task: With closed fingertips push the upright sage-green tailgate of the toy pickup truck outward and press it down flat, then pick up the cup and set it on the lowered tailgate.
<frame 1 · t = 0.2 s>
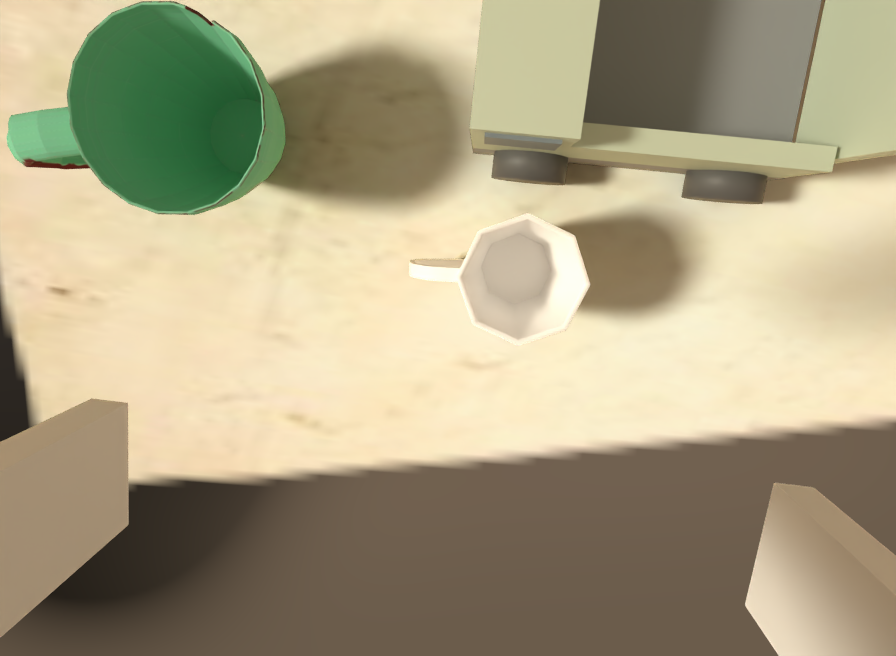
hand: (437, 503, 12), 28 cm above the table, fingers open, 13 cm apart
cup: (491, 265, 39), on the table
pickup truck: (672, 15, 35), on the table
mug: (213, 143, 38), on the table
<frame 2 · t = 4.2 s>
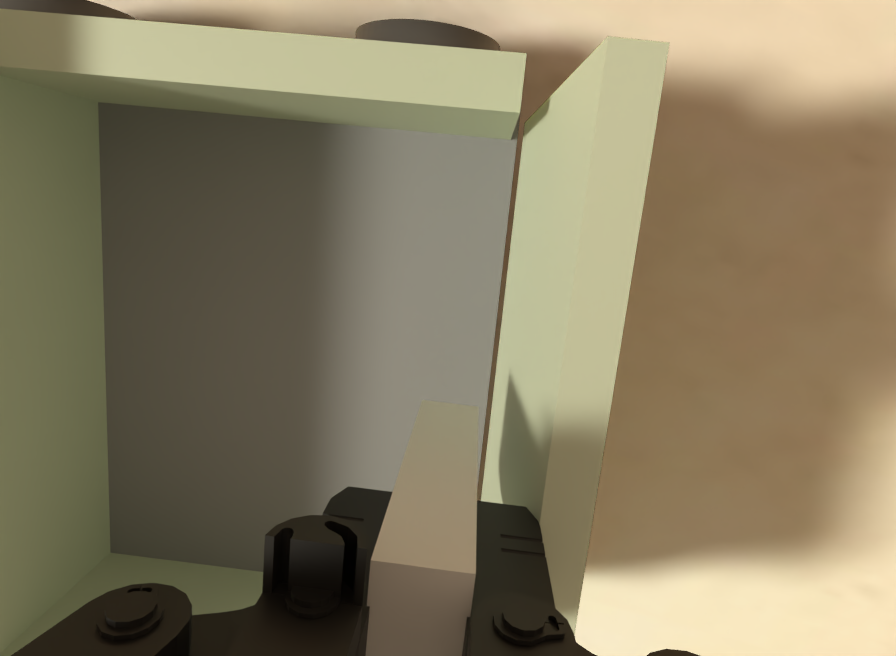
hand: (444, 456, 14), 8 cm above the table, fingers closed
tailgate: (533, 448, 15), point 8 cm above the table, hinge at 4.0°, touching gripper
pickup truck: (306, 344, 22), on the table
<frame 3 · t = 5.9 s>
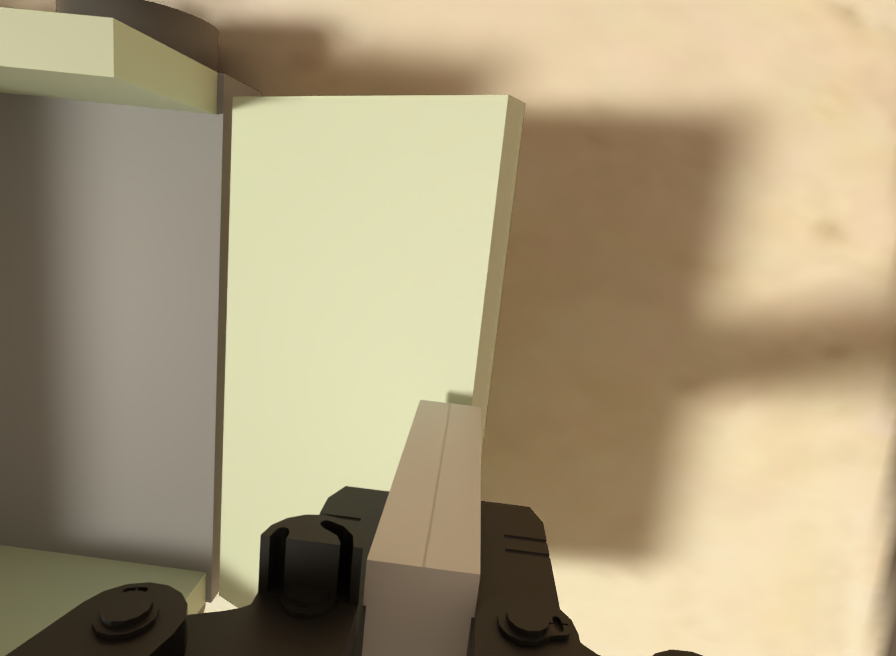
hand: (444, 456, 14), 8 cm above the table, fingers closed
tailgate: (344, 399, 17), point 5 cm above the table, hinge at 61.8°, touching gripper
pickup truck: (74, 321, 22), on the table
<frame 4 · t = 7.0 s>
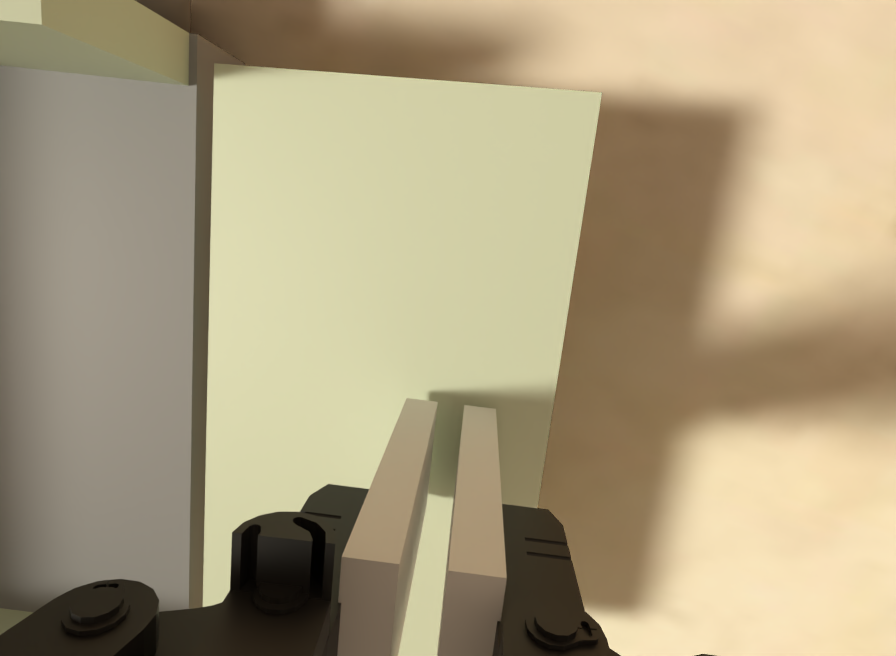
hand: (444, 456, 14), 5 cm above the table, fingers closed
tailgate: (375, 416, 15), point 4 cm above the table, hinge at 80.9°, touching gripper
pickup truck: (24, 334, 19), on the table
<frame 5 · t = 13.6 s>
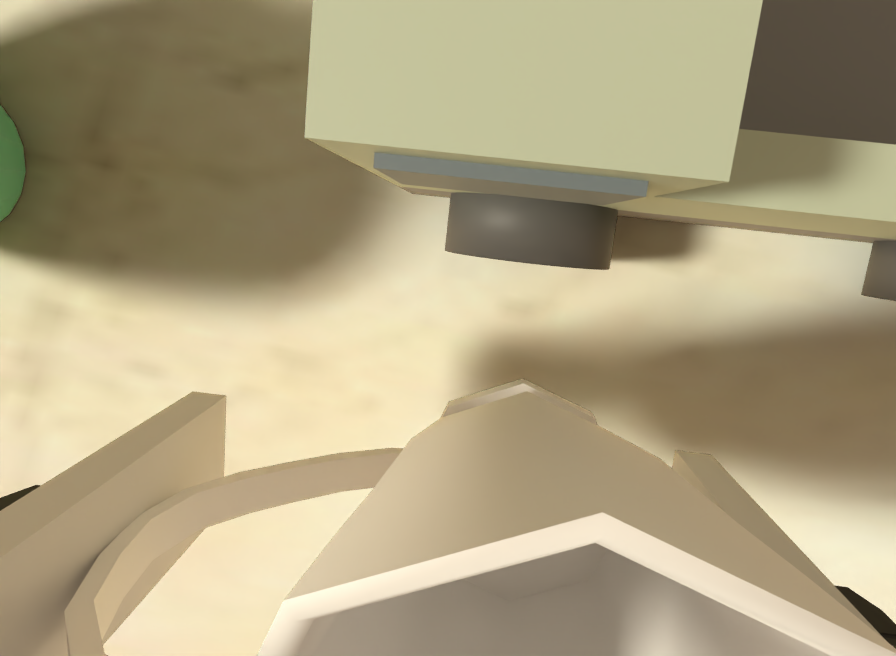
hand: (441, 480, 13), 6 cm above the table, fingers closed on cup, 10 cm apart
cup: (448, 463, 13), point 6 cm above the table, touching gripper
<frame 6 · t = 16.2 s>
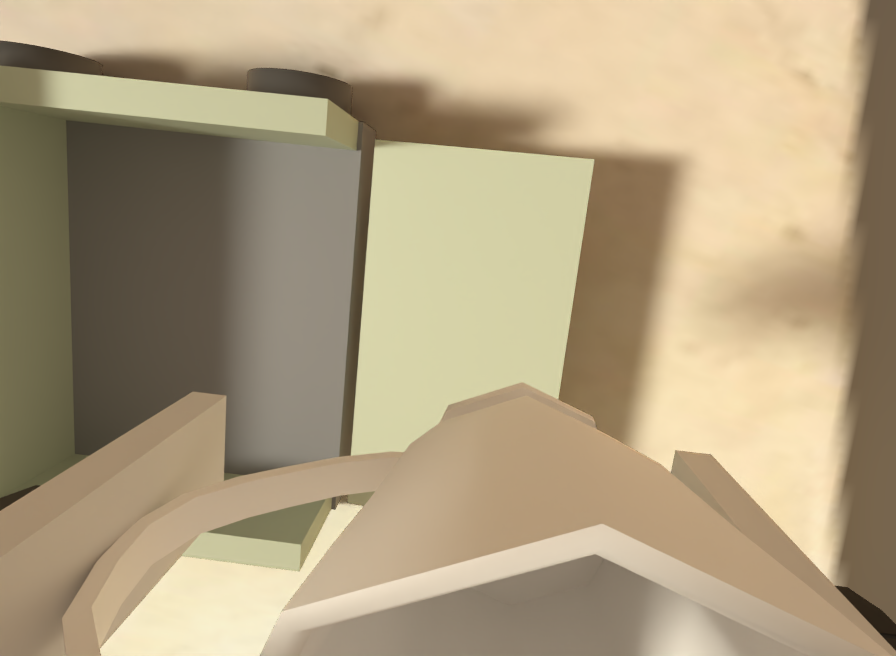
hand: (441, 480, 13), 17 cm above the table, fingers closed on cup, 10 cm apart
cup: (447, 467, 13), point 16 cm above the table, touching gripper
tailgate: (461, 344, 26), point 3 cm above the table, hinge at 83.3°
pickup truck: (225, 301, 30), on the table
when the fingers open (5 cm above the table, at t = 18.8 s): cup stays where it is, resting on tailgate.
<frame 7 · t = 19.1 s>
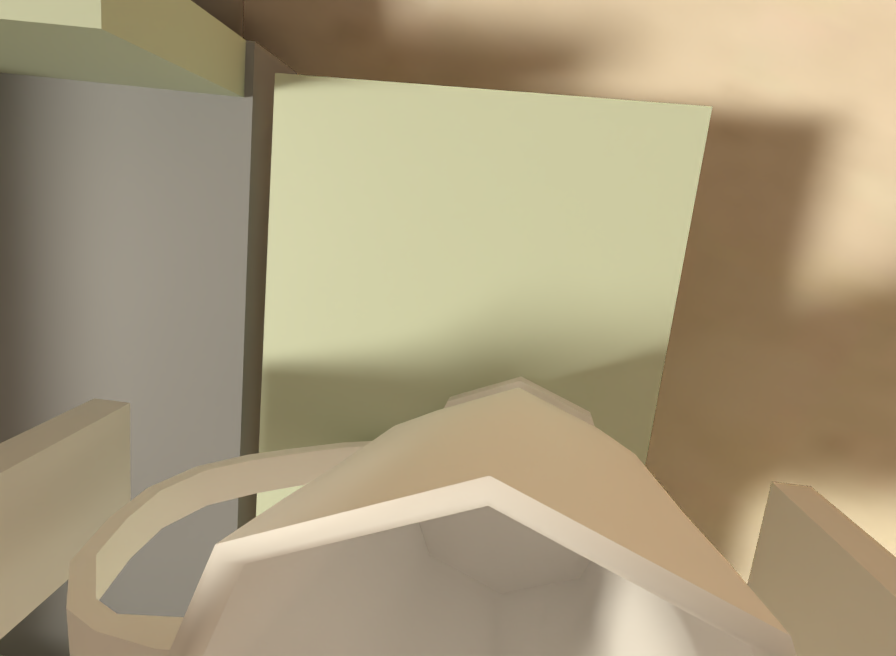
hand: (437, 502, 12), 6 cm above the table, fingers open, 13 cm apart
cup: (450, 457, 14), point 4 cm above the table, touching tailgate
tailgate: (444, 455, 14), point 3 cm above the table, hinge at 83.6°, touching cup
pickup truck: (57, 361, 18), on the table
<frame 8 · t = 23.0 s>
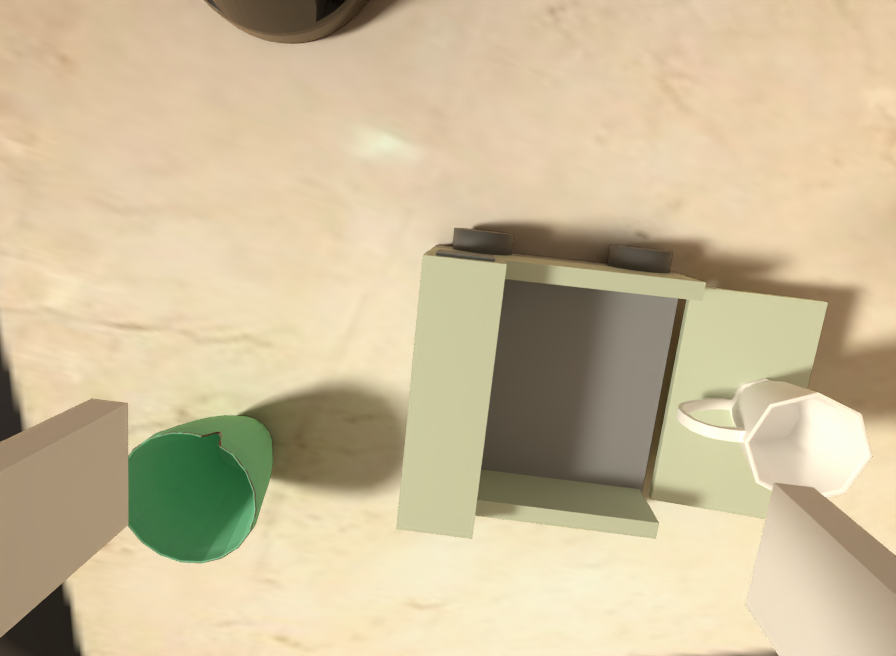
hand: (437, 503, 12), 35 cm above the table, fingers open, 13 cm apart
cup: (737, 403, 43), point 4 cm above the table, touching tailgate
tailgate: (732, 403, 43), point 3 cm above the table, hinge at 83.7°, touching cup
pickup truck: (561, 372, 47), on the table
mug: (218, 444, 50), on the table
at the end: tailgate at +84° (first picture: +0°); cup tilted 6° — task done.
